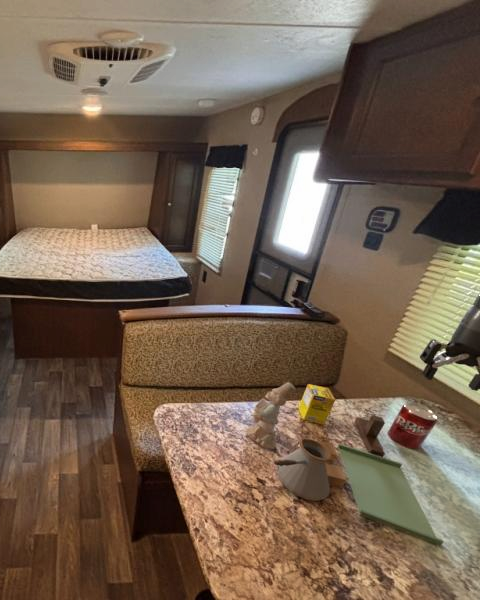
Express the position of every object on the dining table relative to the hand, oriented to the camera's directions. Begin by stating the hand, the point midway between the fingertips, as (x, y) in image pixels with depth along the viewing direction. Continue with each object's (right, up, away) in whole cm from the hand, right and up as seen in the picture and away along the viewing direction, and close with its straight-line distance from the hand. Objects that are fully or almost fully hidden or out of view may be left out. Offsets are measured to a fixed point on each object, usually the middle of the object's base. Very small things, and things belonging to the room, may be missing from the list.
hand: (449, 383), depth 80 cm
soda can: (+4, -22, +16) cm, 27 cm away
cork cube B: (-29, -26, +2) cm, 39 cm away
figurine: (-40, -20, +15) cm, 47 cm away
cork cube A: (-26, -23, +9) cm, 36 cm away
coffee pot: (-42, -27, -1) cm, 50 cm away
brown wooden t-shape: (-8, -22, +15) cm, 27 cm away
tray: (-18, -28, 0) cm, 33 cm away
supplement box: (-19, -18, +23) cm, 35 cm away
